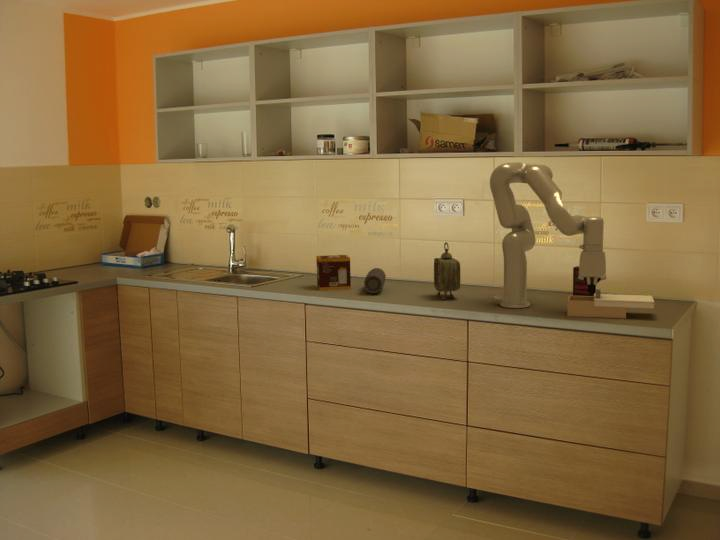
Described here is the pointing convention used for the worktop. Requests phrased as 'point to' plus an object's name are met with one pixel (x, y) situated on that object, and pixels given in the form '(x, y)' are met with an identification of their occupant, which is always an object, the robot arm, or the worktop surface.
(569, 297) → the mailer base
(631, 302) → the mailer lid
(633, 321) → the worktop surface
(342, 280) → the supplement box
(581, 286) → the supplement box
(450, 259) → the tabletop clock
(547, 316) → the worktop surface
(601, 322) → the worktop surface
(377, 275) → the bluetooth speaker
